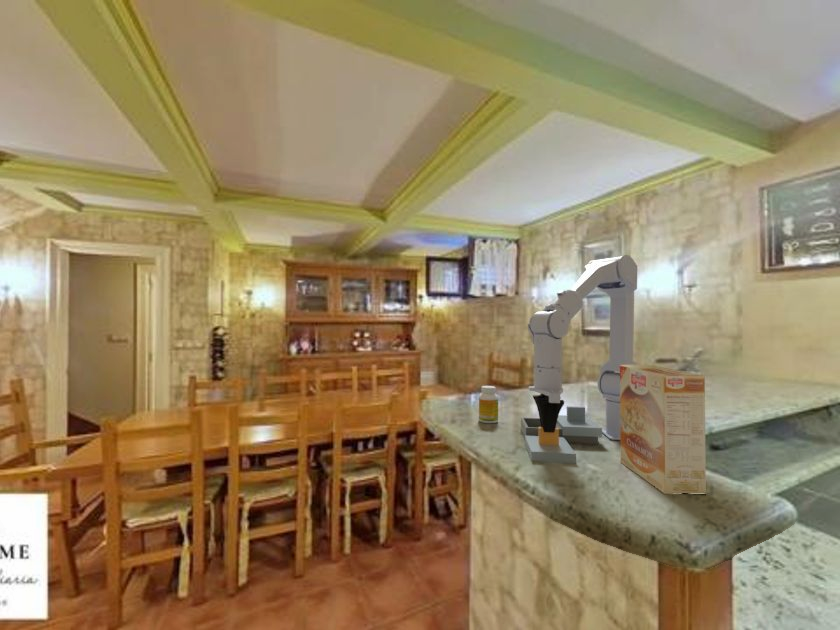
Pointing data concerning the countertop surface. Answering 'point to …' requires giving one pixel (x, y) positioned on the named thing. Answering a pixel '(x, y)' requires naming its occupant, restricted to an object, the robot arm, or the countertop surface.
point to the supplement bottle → (488, 405)
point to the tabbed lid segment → (549, 447)
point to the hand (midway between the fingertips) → (547, 430)
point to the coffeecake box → (663, 427)
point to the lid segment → (578, 423)
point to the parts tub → (531, 427)
